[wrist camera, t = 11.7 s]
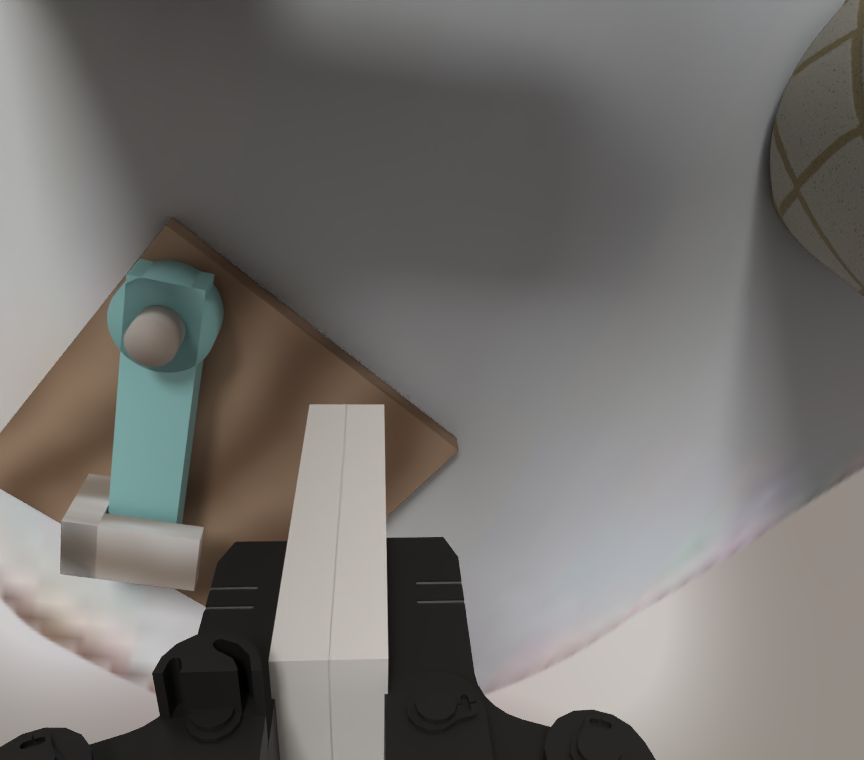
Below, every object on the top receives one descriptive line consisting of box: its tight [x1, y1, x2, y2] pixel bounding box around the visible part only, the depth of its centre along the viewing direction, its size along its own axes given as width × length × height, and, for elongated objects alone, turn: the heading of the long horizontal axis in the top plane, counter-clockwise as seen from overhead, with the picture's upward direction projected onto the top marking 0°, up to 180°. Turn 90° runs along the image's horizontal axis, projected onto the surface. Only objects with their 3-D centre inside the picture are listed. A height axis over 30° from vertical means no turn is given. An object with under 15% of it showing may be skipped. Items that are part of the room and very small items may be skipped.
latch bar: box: [107, 259, 224, 524], centre depth 45 cm, size 20×6×2 cm, turn 166°
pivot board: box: [0, 217, 458, 606], centre depth 47 cm, size 22×21×7 cm
